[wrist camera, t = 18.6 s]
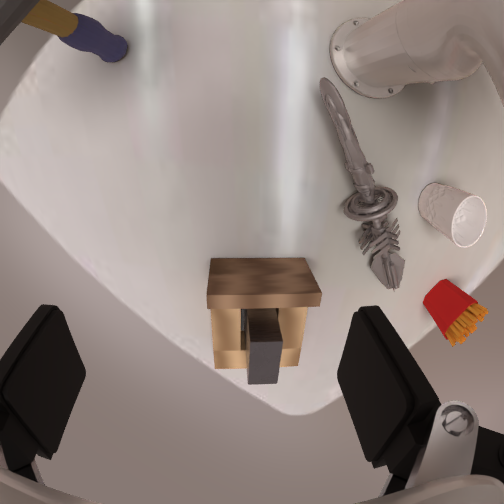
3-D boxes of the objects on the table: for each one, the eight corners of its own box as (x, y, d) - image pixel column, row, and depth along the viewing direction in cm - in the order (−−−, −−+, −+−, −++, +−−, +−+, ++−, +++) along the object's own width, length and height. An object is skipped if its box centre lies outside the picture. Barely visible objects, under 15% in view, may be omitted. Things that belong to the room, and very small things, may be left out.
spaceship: (366, 63, 27) (320, 83, 25) (423, 281, 44) (396, 313, 42) (322, 73, 34) (278, 94, 32) (390, 266, 51) (362, 294, 49)
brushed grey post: (270, 286, 47) (283, 341, 35) (267, 326, 50) (277, 383, 38) (244, 286, 47) (250, 342, 35) (243, 326, 50) (248, 384, 38)
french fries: (425, 313, 53) (457, 353, 41) (417, 303, 51) (451, 344, 39) (455, 282, 50) (492, 317, 38) (448, 270, 49) (488, 306, 37)
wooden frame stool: (304, 257, 45) (321, 292, 36) (292, 346, 53) (303, 387, 44) (210, 258, 44) (206, 295, 35) (215, 348, 52) (214, 391, 43)
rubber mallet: (97, 98, 33) (-83, 101, 6) (73, 65, 30) (-95, 43, 3) (168, 40, 31) (58, -81, 3) (140, 7, 28) (26, -105, 1)
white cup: (417, 230, 45) (452, 255, 36) (411, 186, 41) (449, 204, 32) (451, 215, 44) (487, 237, 35) (446, 173, 41) (486, 189, 32)
